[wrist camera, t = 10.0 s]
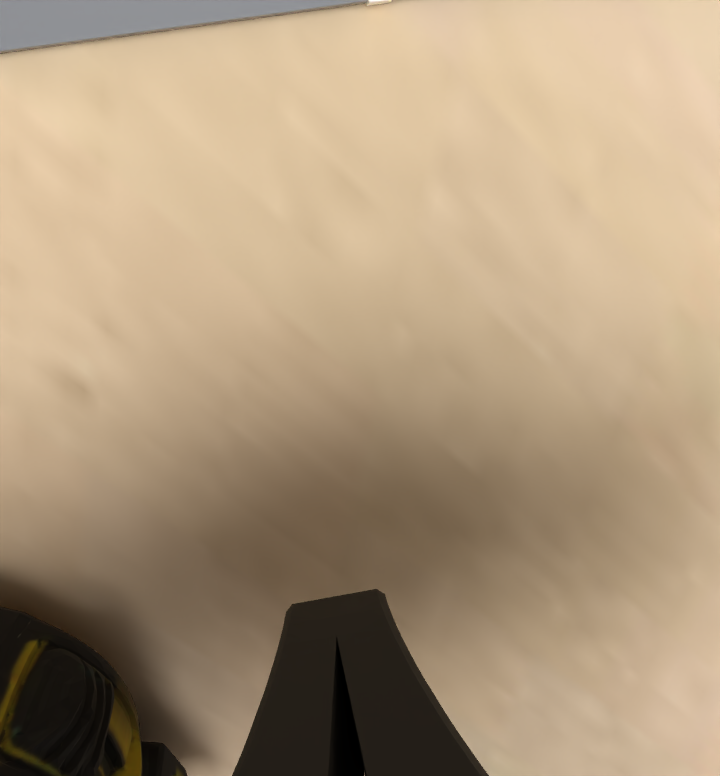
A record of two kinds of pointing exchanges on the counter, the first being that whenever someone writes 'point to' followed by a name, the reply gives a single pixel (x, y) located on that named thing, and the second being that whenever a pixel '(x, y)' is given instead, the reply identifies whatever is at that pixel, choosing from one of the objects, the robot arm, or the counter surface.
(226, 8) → the scale strip
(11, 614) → the tape measure
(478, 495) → the counter surface
